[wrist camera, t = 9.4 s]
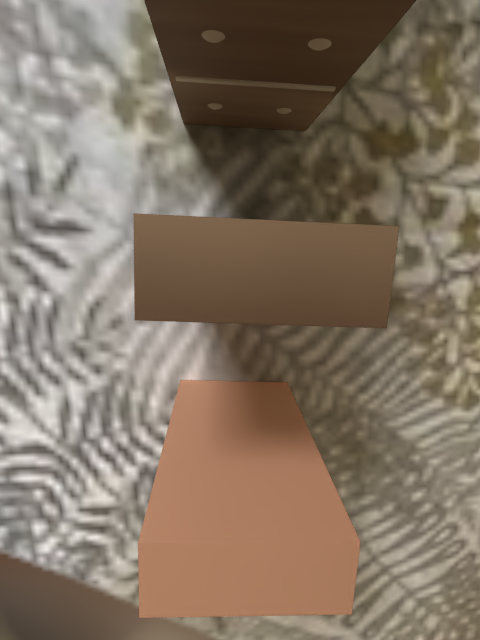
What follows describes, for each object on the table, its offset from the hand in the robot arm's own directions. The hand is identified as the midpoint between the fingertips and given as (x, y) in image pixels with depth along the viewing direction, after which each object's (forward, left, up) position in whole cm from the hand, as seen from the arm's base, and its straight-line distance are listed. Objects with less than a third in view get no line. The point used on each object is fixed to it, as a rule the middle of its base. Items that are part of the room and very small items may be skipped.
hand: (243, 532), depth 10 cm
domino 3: (0, 0, -9) cm, 9 cm away
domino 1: (-13, 0, -9) cm, 15 cm away
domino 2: (-7, 0, -9) cm, 11 cm away
